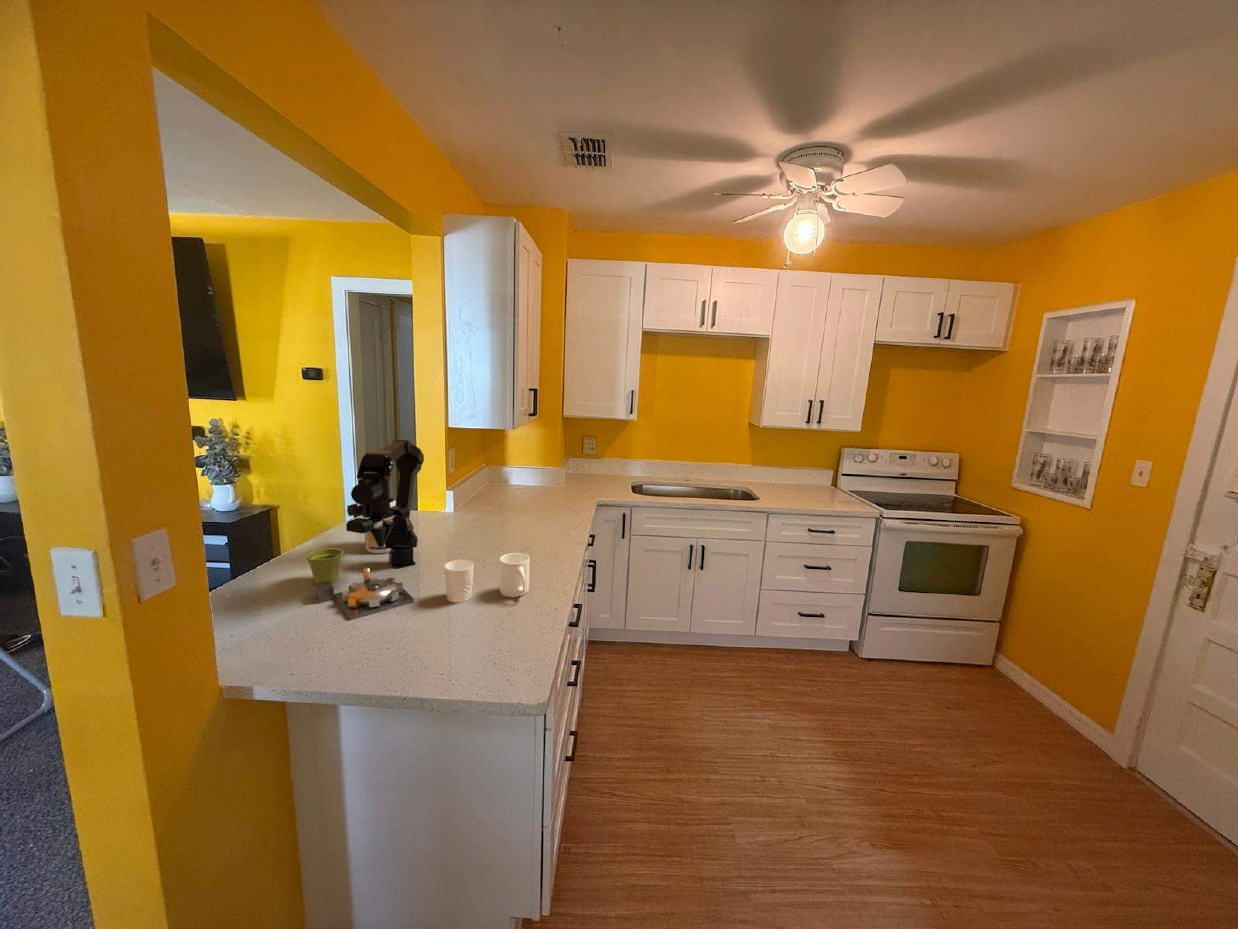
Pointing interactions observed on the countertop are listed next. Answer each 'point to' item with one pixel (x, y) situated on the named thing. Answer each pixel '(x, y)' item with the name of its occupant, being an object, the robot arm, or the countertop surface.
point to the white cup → (459, 580)
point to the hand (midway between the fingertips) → (380, 546)
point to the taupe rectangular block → (324, 591)
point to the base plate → (365, 610)
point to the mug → (514, 574)
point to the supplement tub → (371, 542)
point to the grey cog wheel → (372, 591)
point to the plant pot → (325, 564)
